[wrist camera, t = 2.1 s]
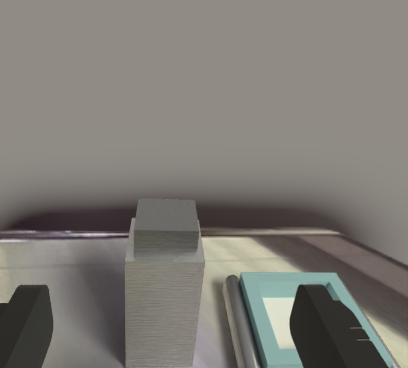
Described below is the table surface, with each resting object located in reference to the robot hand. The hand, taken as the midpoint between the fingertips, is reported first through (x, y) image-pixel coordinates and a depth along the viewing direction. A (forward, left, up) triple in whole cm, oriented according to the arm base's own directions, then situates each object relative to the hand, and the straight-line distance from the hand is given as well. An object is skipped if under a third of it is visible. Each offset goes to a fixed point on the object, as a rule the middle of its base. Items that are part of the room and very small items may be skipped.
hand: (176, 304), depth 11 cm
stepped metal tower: (0, +11, -15) cm, 19 cm away
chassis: (+12, +11, -15) cm, 23 cm away
